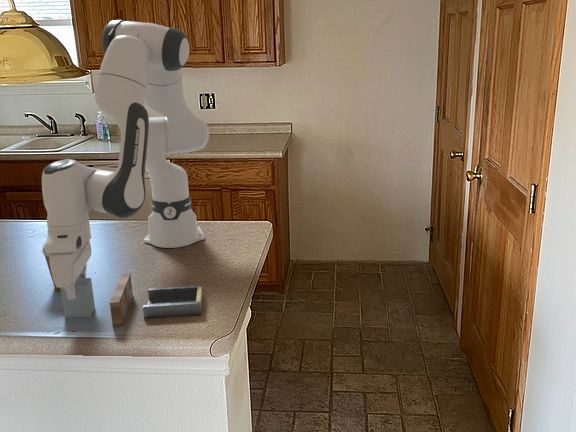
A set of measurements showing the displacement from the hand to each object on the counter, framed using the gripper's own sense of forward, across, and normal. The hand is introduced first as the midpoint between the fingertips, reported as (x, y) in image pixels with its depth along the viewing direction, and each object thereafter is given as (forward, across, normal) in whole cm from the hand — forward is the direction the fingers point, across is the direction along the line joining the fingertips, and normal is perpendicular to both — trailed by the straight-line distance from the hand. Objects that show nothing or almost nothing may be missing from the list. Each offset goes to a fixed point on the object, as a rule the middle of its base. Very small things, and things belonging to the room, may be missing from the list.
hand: (77, 289), depth 133 cm
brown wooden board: (+6, 0, +10) cm, 12 cm away
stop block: (+6, -1, 0) cm, 6 cm away
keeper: (+6, 0, +22) cm, 23 cm away
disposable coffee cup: (+6, -17, -7) cm, 19 cm away
